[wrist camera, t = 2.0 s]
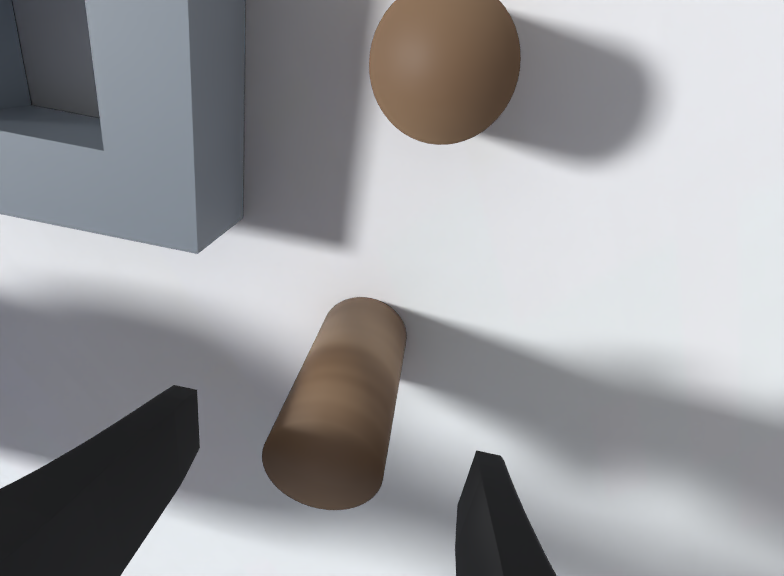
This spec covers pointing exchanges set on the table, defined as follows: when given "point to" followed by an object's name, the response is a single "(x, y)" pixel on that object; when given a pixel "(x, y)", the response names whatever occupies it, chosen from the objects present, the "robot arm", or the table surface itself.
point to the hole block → (134, 127)
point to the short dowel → (444, 67)
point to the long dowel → (340, 409)
